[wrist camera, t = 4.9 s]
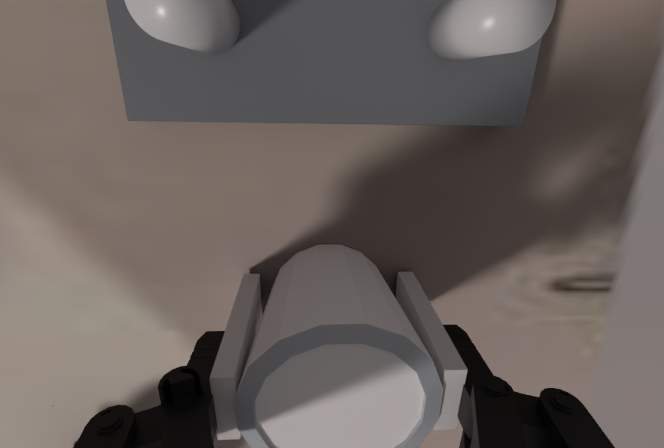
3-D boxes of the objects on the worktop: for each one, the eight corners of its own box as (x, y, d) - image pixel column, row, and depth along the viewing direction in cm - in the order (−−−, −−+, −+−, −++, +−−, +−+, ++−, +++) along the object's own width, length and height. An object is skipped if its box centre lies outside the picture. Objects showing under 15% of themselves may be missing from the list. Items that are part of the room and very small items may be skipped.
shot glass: (412, 244, 17) (475, 341, 11) (376, 355, 20) (410, 490, 13) (270, 219, 16) (247, 309, 10) (250, 339, 19) (221, 475, 12)
